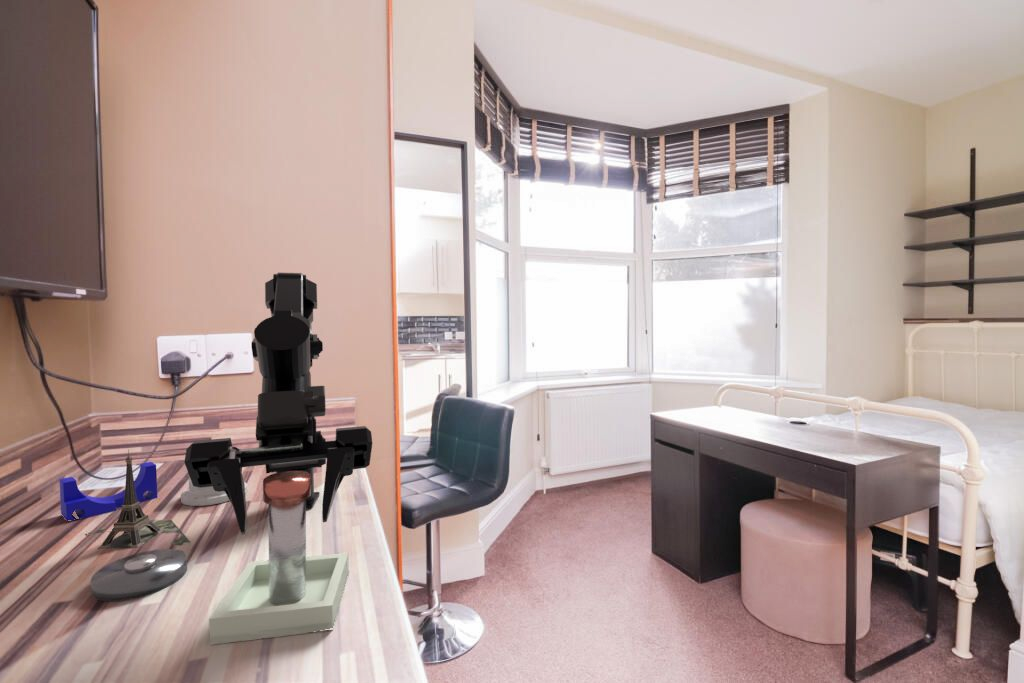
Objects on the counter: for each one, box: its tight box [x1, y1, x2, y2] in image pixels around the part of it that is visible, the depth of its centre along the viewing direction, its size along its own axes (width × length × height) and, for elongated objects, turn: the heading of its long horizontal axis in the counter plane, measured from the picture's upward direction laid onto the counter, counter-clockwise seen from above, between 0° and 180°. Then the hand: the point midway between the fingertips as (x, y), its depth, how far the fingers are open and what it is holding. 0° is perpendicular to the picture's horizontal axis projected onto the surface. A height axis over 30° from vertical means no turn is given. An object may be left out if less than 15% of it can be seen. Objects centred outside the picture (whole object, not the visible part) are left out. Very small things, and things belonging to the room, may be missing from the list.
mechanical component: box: [180, 476, 248, 507], centre depth 85 cm, size 10×4×10 cm
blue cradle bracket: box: [59, 461, 158, 521], centre depth 80 cm, size 12×4×6 cm, turn 141°
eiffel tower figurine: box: [87, 449, 191, 550], centre depth 68 cm, size 15×10×13 cm
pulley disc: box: [90, 548, 188, 602], centre depth 57 cm, size 9×9×2 cm
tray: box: [208, 552, 350, 646], centre depth 52 cm, size 11×11×2 cm
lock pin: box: [262, 471, 311, 606], centre depth 51 cm, size 5×5×13 cm
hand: (285, 526), depth 50 cm, fingers open, 7 cm apart
